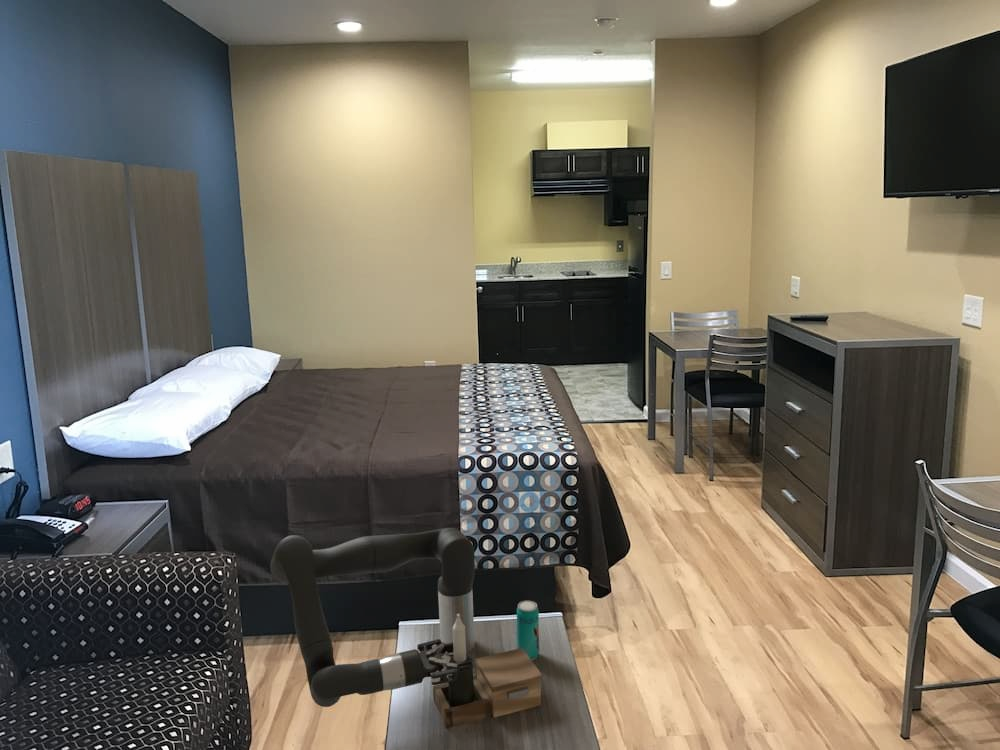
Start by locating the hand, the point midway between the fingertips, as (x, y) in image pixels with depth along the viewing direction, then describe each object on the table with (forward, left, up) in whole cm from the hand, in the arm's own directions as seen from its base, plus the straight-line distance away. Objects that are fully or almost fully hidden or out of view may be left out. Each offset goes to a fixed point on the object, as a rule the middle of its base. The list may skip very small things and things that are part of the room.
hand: (466, 654), depth 184 cm
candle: (0, -2, -14) cm, 14 cm away
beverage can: (-14, +21, -14) cm, 29 cm away
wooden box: (0, +5, -14) cm, 15 cm away
